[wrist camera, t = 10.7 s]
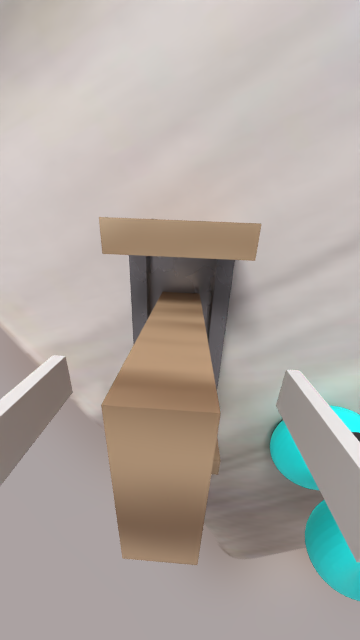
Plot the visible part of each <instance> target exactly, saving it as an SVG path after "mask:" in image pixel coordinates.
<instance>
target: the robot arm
mask: <svg viewBox="0 0 360 640" xmlns="http://www.w3.org/2000/svg"><path fill="white" fill-rule="evenodd" d="M72 393H73V391H72V386H71V381H70V376H69V371H68V366H67V361H66V357H65V356H56V355H53V356H52V357H50V358H49V359H48V360H47V361H46V362H44V363H43V364H42V365H41V366H40V367H38V368H37V369H36V370H35V371H34V372H32V373H31V374H30V375H29V376H28V377H27V378H25V379H24V380H23V381H22V382H21V383H20V384H18V385H17V386H16V387H15V388H13V389H12V390H11V391H10V392H9V393H8V394H6V395H5V396H4V397H3V398H2V399H0V486H1V484H2V483H3V482H4V481H5V479H6V478H7V477H8V475H9V474H10V473H11V471H12V470H13V469H14V468H15V466H16V465H17V464H18V462H19V461H20V460H21V458H22V457H23V456H24V455H25V453H26V452H27V451H28V450H29V448H30V447H31V446H32V444H33V443H34V442H35V440H36V439H37V438H38V436H39V435H40V434H41V433H42V431H43V430H44V429H45V428H46V426H47V425H48V423H49V422H50V421H51V420H52V419H53V417H54V416H55V415H56V413H57V412H58V411H59V409H60V408H61V407H62V406H63V404H64V403H65V402H66V400H67V399H68V398H69V397H70V395H71V394H72ZM276 407H277V409H278V411H279V413H280V415H281V417H282V419H283V421H284V422H285V424H286V426H287V428H288V430H289V432H290V434H291V436H292V438H293V440H294V442H295V444H296V446H297V448H298V450H299V451H300V453H301V455H302V457H303V459H304V461H305V463H306V465H307V467H308V469H309V471H310V473H311V475H312V477H313V479H314V480H315V482H316V484H317V486H318V488H319V490H320V492H321V494H322V496H323V498H324V500H325V502H326V504H327V506H328V508H329V509H330V511H331V513H332V515H333V517H334V519H335V521H336V523H337V525H338V527H339V529H340V531H341V533H342V535H343V537H344V538H345V540H346V542H347V544H348V546H349V548H350V550H351V552H352V554H353V556H354V558H355V560H356V562H360V433H359V432H351V431H350V430H349V429H348V427H347V426H346V425H345V424H344V423H343V422H342V420H341V419H340V418H339V417H338V416H337V414H336V413H335V412H334V411H333V410H332V408H331V407H330V406H329V405H328V404H327V402H326V401H325V400H324V399H323V398H322V397H321V395H320V394H319V393H318V392H317V391H316V389H315V388H314V387H313V386H312V385H311V383H310V382H309V381H308V380H307V379H306V377H305V376H304V375H303V374H302V373H301V372H300V370H286V372H285V376H284V379H283V383H282V386H281V390H280V393H279V397H278V400H277V404H276Z"/></svg>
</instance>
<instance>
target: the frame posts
mask: <svg viewBox="0 0 360 640" xmlns="http://www.w3.org/2000/svg"><path fill="white" fill-rule="evenodd" d="M99 223H100V233H101V243H102V254H120V255H142V256H164V257H186V258H207V259H229V260H251V261H255V258H256V253H257V247H258V241H259V235H260V229H261V224H257V223H232V222H207V221H182V220H158V219H133V218H108V217H99ZM219 466H220V454H219V447H218V439H216V446H215V452H214V459H213V465H212V472H211V474H216V475H218V472H219Z"/></svg>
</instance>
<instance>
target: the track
mask: <svg viewBox="0 0 360 640" xmlns="http://www.w3.org/2000/svg"><path fill="white" fill-rule="evenodd" d="M234 261H235V260H229V259H207V258H186V257H164V256H142V255H129V264H130V283H131V302H132V321H133V341H134V344H135V342H136V340H137V338H138V336H139V334H140V332H141V331H142V329H143V327H144V325H145V323H146V321H147V320H148V318H149V316H150V314H151V312H152V310H153V308H154V307H155V305H156V303H157V301H158V299H159V297H160V295H161V294H162V292H178V293H197V294H200V299H201V305H202V310H203V316H204V322H205V327H206V333H207V339H208V345H209V350H210V356H211V362H212V367H213V373H214V379H215V385H216V390H217V386H218V378H219V371H220V364H221V356H222V349H223V342H224V334H225V327H226V320H227V312H228V305H229V298H230V290H231V283H232V276H233V268H234Z"/></svg>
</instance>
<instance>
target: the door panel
mask: <svg viewBox="0 0 360 640" xmlns="http://www.w3.org/2000/svg"><path fill="white" fill-rule="evenodd" d="M101 406H102V413H103V421H104V428H105V435H106V442H107V449H108V457H109V464H110V471H111V478H112V485H113V493H114V500H115V508H116V514H117V522H118V529H119V536H120V544H121V551H122V558H124V559H125V558H126V559H135V560H146V561H158V562H169V563H179V564H191V565H197V564H198V557H199V550H200V544H201V537H202V531H203V524H204V518H205V511H206V505H207V498H208V492H209V485H210V479H211V472H212V465H213V459H214V452H215V446H216V439H217V433H218V426H219V420H220V407H219V402H218V396H217V390H216V385H215V379H214V373H213V367H212V362H211V356H210V350H209V345H208V339H207V333H206V327H205V322H204V316H203V310H202V305H201V299H200V294H197V293H178V292H162V294H161V295H160V297H159V299H158V301H157V303H156V305H155V307H154V308H153V310H152V312H151V314H150V316H149V318H148V320H147V321H146V323H145V325H144V327H143V329H142V331H141V332H140V334H139V336H138V338H137V340H136V342H135V344H134V345H133V347H132V349H131V351H130V353H129V355H128V357H127V358H126V360H125V362H124V364H123V366H122V368H121V370H120V371H119V373H118V375H117V377H116V379H115V381H114V382H113V384H112V386H111V388H110V390H109V392H108V394H107V395H106V397H105V399H104V401H103V403H102V405H101Z"/></svg>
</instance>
